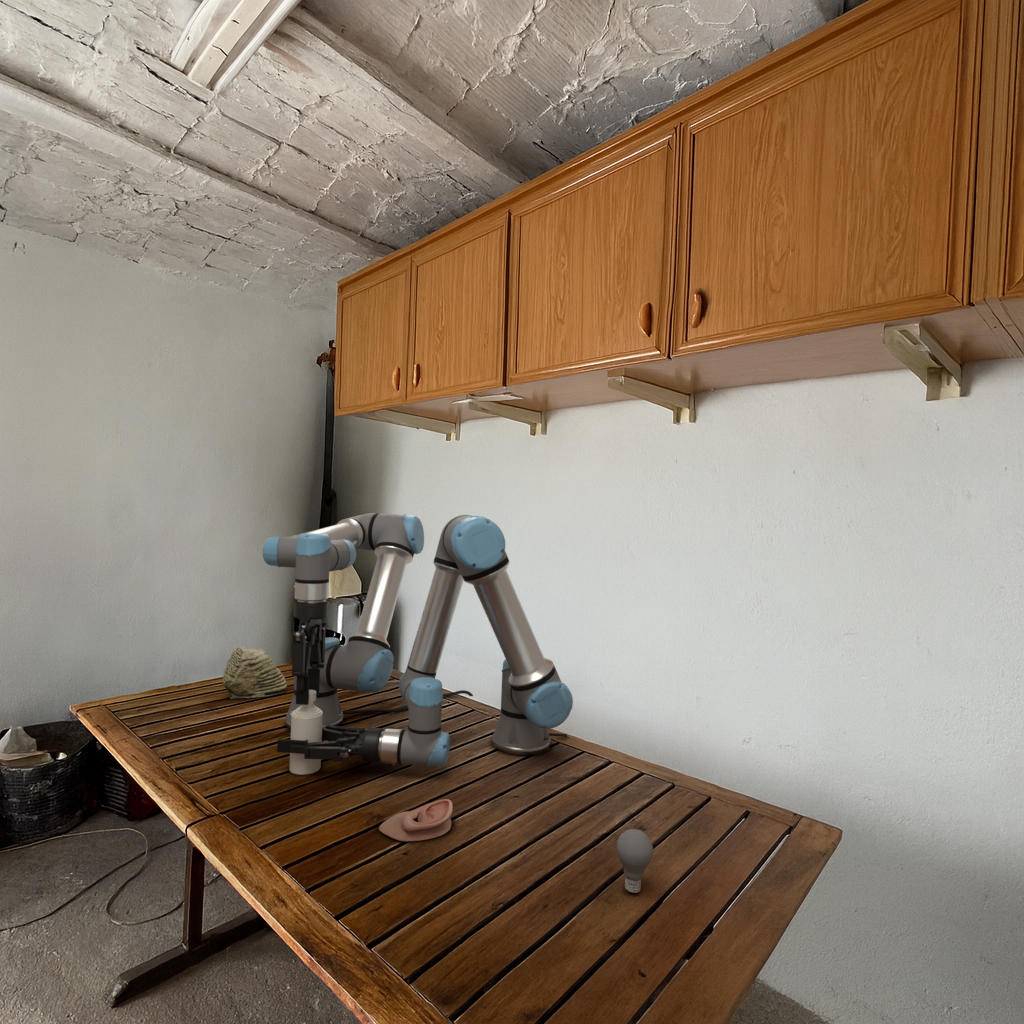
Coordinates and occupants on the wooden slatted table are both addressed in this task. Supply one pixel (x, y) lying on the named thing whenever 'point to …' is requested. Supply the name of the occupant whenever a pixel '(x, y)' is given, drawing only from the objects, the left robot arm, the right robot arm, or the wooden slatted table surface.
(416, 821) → the anatomical model
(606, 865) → the wooden slatted table surface
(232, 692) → the fossil
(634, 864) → the light bulb
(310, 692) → the cap
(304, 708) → the bottle
